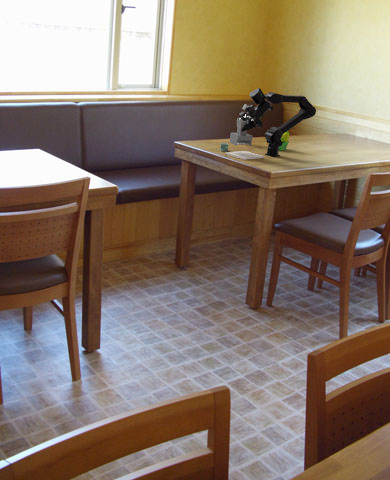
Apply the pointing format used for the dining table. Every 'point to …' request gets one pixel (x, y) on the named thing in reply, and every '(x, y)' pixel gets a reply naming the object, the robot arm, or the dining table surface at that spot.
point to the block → (224, 147)
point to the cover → (241, 135)
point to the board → (244, 155)
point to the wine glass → (237, 126)
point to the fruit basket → (284, 141)
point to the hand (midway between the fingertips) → (239, 130)
